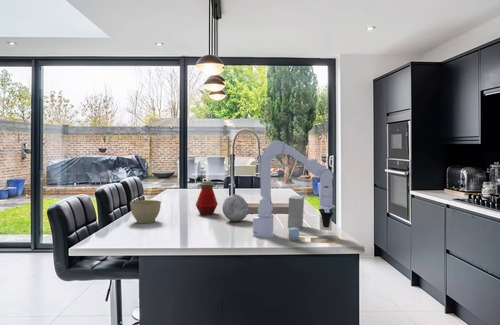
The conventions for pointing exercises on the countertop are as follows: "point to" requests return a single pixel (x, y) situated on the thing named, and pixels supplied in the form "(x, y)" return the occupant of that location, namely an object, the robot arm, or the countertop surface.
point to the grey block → (322, 224)
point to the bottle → (206, 199)
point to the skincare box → (295, 212)
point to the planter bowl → (145, 210)
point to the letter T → (308, 238)
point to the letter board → (319, 239)
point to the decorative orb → (235, 208)
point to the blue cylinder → (294, 234)
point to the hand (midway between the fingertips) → (325, 226)
